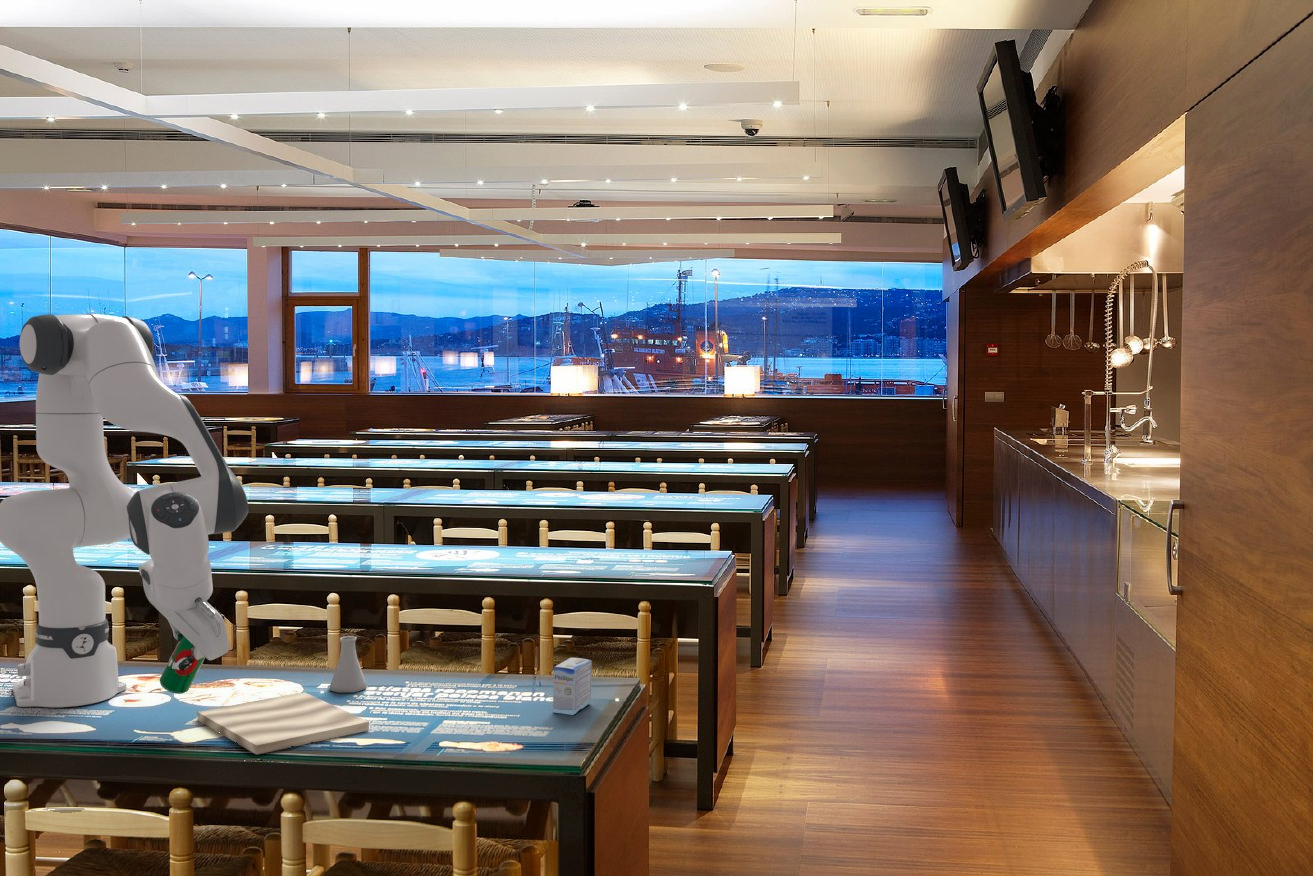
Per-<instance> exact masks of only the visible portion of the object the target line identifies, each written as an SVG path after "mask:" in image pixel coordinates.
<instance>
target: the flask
mask: <svg viewBox="0 0 1313 876" xmlns="http://www.w3.org/2000/svg"><path fill="white" fill-rule="evenodd" d="M357 639H358V638H357V636H352V635H349V636H347V635H346V636H341V637H339V639H338V640H339V642H340V652H339V658H338V661H337V665H336V668H335V671H334V674H333V675H332V676H333V677H332V679H331V681H330V684H329V688H328V691H330V692H335V693H357V692H360V691H362V690H363V691H364V690H365V689H366V688H367V686H368V683H367V680H366V678H365V674H364V672H363V670H362V667H361V665H360V661H359V658H358V655H357V650H356V641H357Z"/></svg>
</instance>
